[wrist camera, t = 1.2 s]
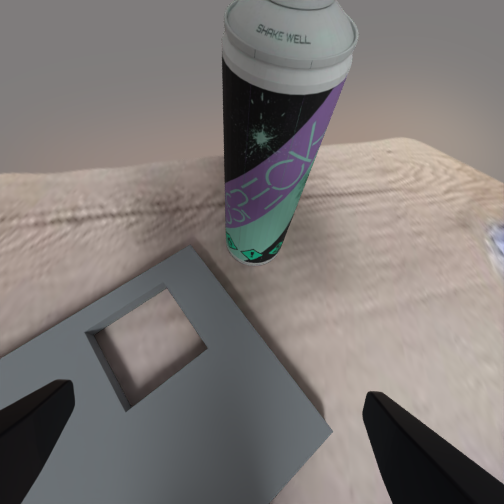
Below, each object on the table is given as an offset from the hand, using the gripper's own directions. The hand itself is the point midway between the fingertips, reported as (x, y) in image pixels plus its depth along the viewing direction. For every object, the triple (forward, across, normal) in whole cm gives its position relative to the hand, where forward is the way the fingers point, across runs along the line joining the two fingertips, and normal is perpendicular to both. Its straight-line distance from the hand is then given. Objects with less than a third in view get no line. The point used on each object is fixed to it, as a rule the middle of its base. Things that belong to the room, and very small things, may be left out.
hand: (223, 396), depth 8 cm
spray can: (+19, -2, -1) cm, 19 cm away
